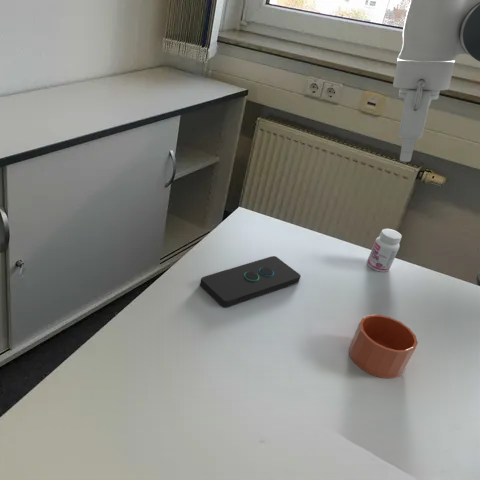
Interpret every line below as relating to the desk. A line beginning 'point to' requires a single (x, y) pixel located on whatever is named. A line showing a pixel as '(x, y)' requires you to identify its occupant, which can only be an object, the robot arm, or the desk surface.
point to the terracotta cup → (382, 346)
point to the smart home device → (249, 281)
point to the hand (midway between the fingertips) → (405, 156)
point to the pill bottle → (384, 250)
